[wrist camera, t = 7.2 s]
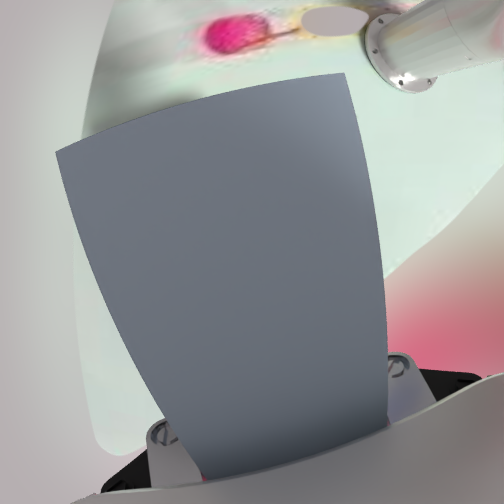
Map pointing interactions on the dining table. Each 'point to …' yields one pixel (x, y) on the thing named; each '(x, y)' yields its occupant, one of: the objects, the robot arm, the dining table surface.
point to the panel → (242, 268)
